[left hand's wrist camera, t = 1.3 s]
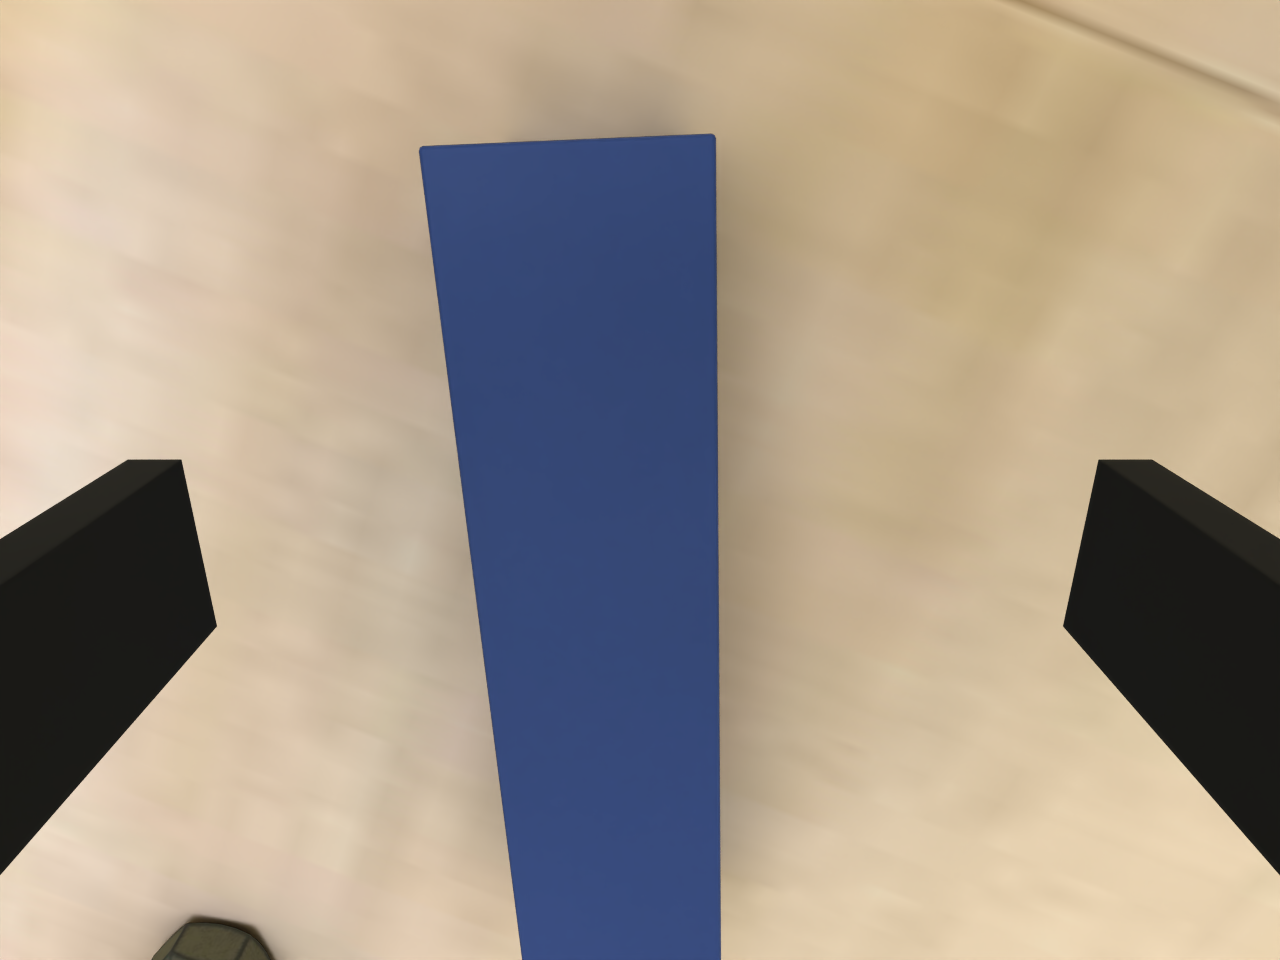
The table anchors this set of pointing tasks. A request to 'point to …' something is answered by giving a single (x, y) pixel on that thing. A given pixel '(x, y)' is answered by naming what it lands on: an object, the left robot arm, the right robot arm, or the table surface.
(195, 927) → the grenade
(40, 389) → the table surface
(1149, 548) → the left robot arm
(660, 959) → the bar
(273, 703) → the table surface
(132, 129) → the table surface
